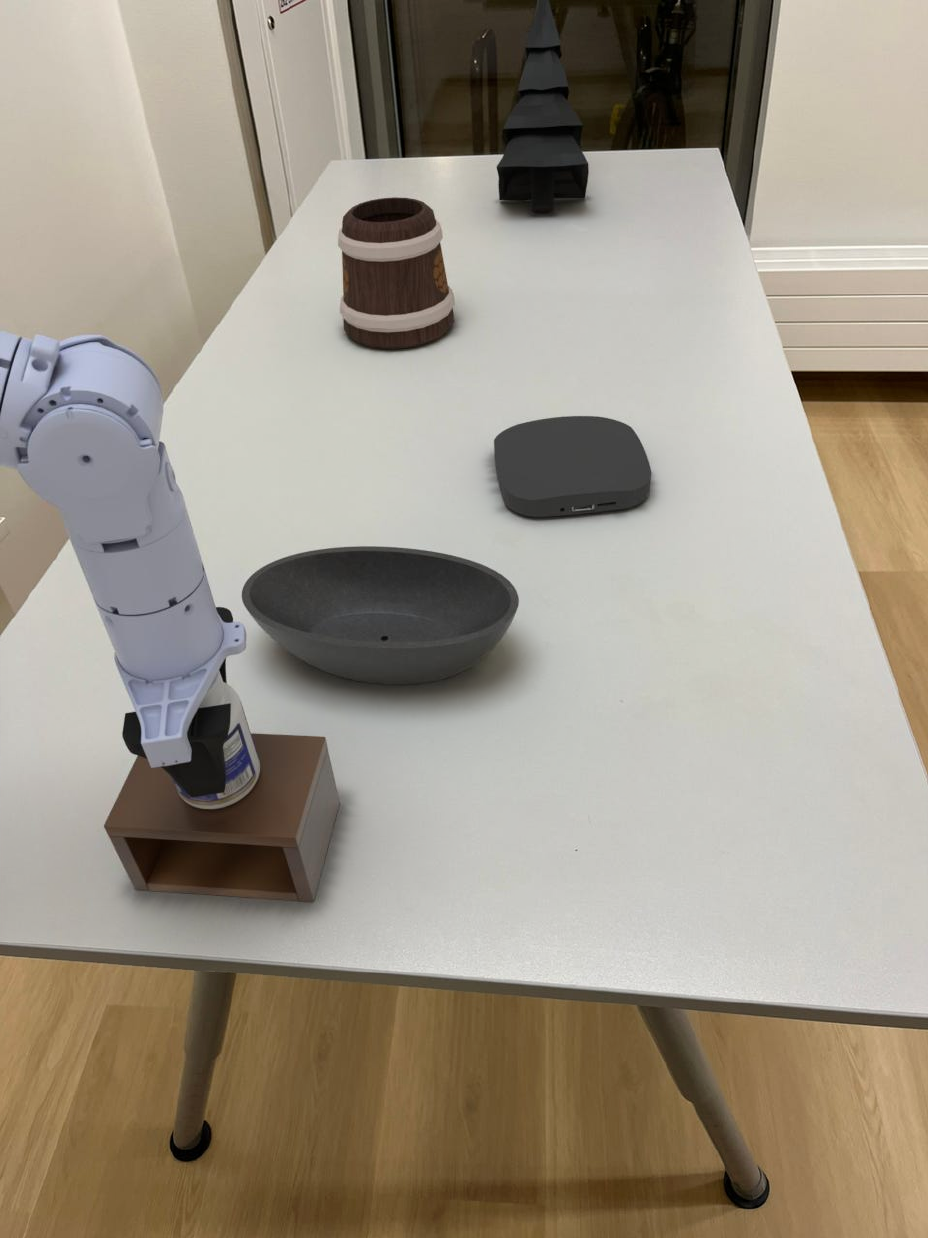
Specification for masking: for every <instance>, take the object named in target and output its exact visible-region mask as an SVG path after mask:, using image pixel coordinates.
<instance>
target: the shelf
mask: <svg viewBox="0 0 928 1238" xmlns="http://www.w3.org/2000/svg"><path fill="white" fill-rule="evenodd" d="M251 736H252V739H253V742H254V745H255V748H256V751H257V755H258V758H259V762H260V774H259V777H258V780H257V782H256V784H255V785H254V787H253V788H252V790H251V791H250V792H249V793H248V794H247V795H246V796H245V797H243V798H242V799H240V800H239V801H237V802H235V803H233V804H231V805H229V806H226V807H223V808H218V809H201V808H197V807H194V806H192V805H190V804H188V803H187V802H185V801H184V800H183V799H182V798H181V796H180V795H179V793H178V791H177V789H176V787H175V784H174V782H173V779H172V777H171V776H170V775H169V774H168V773H167V772H166V771H165V770H164V769H163V768H162V767H154V768H151V766H150V764H149V761H148V759H146V758H143V757H141V756H138V755H136V758H135V760H134V762H133V764H132V767H131V768H130V770H129V772H128V775H127V777H126V779H125V781H124V783H123V785H122V786H121V789H120V791H119V793H118V796H117V797H116V800H115V801H114V803H113V806H112V808H111V810H110V812H109V813H108V816H107V818H106V820H105V822H104V825H103V828H104V831H105V832H106V834H107V836H108V838H109V840H110V842H111V844H112V846H113V848H114V850H115V852H116V855H117V856H118V858H119V860H120V862H121V864H122V866H123V868H124V870H125V872H126V874H127V876H128V878H129V881H130V882H131V884H132V886H133V889H134V890H136V891H147V892H149V891H151V892H166V893H181V894H195V895H208V896H209V895H210V896H222V897H223V896H225V897H238V898H253V899H265V900H266V899H267V900H282V901H283V900H284V901H294V902H295V901H296V902H298V901H299V902H308V903H309V902H311V903H314V901H315V899H316V895H317V891H318V888H319V883H320V879H321V877H322V872H323V869H324V868H323V867H324V865H325V860H326V856H327V853H328V850H329V849H328V848H329V845H330V841H331V838H332V834H333V830H334V826H335V823H336V819H337V815H338V811H339V807H340V803H341V801H340V797H339V792H338V788H337V784H336V779H335V774H334V769H333V766H332V762H331V757H330V752H329V748H328V742H327V739H326V736H318V735H317V736H316V735H298V734H297V735H293V734H276V733H275V734H273V733H254V732H253V733H252V732H251Z"/></svg>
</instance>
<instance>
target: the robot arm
mask: <svg viewBox="0 0 928 1238" xmlns="http://www.w3.org/2000/svg"><path fill="white" fill-rule="evenodd" d="M163 416H164V400H163V390H162V387H161V384H160V381H159V378H158V377H157V375H156V373H155V371H154V370H153V369H152V367H151V366H150V364H148V362H146V360H145V359H144V358H142V357H141V356H140V355H139V354H138V353H137V352H135V351H133V350H132V349H130V348H128V347H126V346H124V345H121V344H119V343H116V342H114V341H113V340H112V339H110V338H109V337H107V336H105V335H102V334H79V335H75V336H71V337H68V338H65V339H63V340H61V341H59V340H58V339H56V338H53V337H48V336H45V335H43V334H39V333H37V334H35V335H34V337H33V339H31V338H29V337H28V338H27V337H25V336H24V337H22V336H21V335H19V334H14V333H11V332H8V331H4V330H2V329H0V466H2V467H4V468H10V469H14V470H17V472H18V474H19V476H20V477H21V479H22V480H23V482H24V483H25V484H26V485H27V487H29V489H31V490H32V491H33V492H34V493H35V494H36V495H37V496H39V497H40V498H41V499H42V500H44V501H45V502H47V503H49V504H50V505H52V506H54V507H56V508H57V509H58V511H59V512H60V515H61V518H62V520H63V525H64V528H65V531H66V534H67V536H68V538H69V541H70V543H71V546H72V549H73V551H74V553H75V556H76V558H77V561H78V564H79V566H80V568H81V571H82V573H83V575H84V578H85V581H86V583H87V585H88V588H89V590H90V593H91V596H92V598H93V601H94V603H95V607H96V608H97V611H98V613H99V615H100V618H101V621H102V623H103V626H104V629H105V631H106V633H107V635H108V638H109V640H110V643H111V646H112V648H113V650H114V656H113V657H114V663H115V666H116V668H117V671H118V674H119V676H120V678H121V680H122V683H123V685H124V687H125V691H126V693H127V694H128V697H129V700H130V703H131V704H132V706H133V709H134V711H130V712H125V713H124V718H123V726H122V731H121V735H122V739H123V742H124V744H125V747H126V748H127V750H128V751H129V753H130V754H132V755H135V756H141V757H143V758H146V759H148V761H149V764H150V766H151V768H154V767H162V768H163V769H164V770H165V771H166V772H167V773H168V774H169V775H170V776H171V777H172V778H173V779H174V780H175V781H176V782H177V783H178V784H179V785H180V787H181V788H182V789H183V790H184V791H185V792H186V793H187V794H188V795H189V796H190V797H192V798H194V797H200V796H206V795H212V794H218V793H223V792H224V791H225V785H226V767H225V758H224V750H223V745H224V743H225V741H226V739H227V736H228V732H229V728H230V721H231V703H229V704H223V705H216V706H210V707H204V708H199V706H200V704H201V702H202V700H203V698H204V697H205V695H206V693H207V691H208V689H209V687H210V685H211V684H212V682H213V680H214V678H215V676H216V674H217V672H218V671H220V674H221V677H222V680H223V682H225V683H227V684H228V680H227V668H226V667H227V663H226V662H227V658H228V657H229V656H235V655H239V654H242V653H243V652H244V651H246V648H247V631H246V627H245V625H244V623H242V622H241V621H234V617H233V613H232V611H231V610H230V609H228V608H227V607H224V606H216V602H215V600H214V596H213V594H212V590H211V586H210V584H209V580H208V576H207V573H206V569H205V565H204V562H203V559H202V556H201V552H200V549H199V545H198V542H197V538H196V535H195V532H194V529H193V525H192V522H191V518H190V515H189V512H188V507H187V505H186V501H185V498H184V495H183V492H182V491H181V488H180V487H179V485H178V484H177V480H176V474H175V473H176V472H175V471H174V468H173V465H172V463H171V462H170V461H171V460H170V458H169V454H168V451H167V448H166V445H165V443H164V442H163V441H161V439H160V438H161V432H162V424H163Z"/></svg>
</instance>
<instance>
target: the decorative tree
mask: <svg viewBox="0 0 928 1238" xmlns="http://www.w3.org/2000/svg"><path fill="white" fill-rule="evenodd" d="M561 45H562V44H561V40H560V37H559V32H558V27H557V25H556V22H555V18H554V15H553V11H552V6H551V3H550V0H537V1H536V6H535V11H534V15H533V20H532V23H531V24H530V27H529V29H528V32H527V36H526V40H525V45H524V49H525V57H524V58H525V59H524V68H523V71H522V74H521V78H520V81H519V83H518V88H517V92H516V100H515V101H516V104H515V105H514V108H513V109H512V111H511V112H510V113H509V115H508V117H507V119H506V122H505V123H504V126H503V128H502V134H501V139H502V142H503V143H504V145H505V146H504V150H503V155H502V157H501V159H500V161H499V162H498V164H496V171H497V176H498V181H497V182H498V184H497V185H498V186H497V187H498V200H499V201H514V202H525V201H531V203H530V211H531V212H532V213H535V214H548V213H552V212H553V211H554V208H555V206H554V205H555V203H554V201H555V199H557V200H558V199H586V194H587V187H588V184H589V183H588V181H589V175H590V174H589V173H590V172H589V161H588V160H587V158H586V156H585V154H584V153H583V150H582V146H581V145H582V143H581V142H582V141H581V140H582V132H583V129H584V124H583V122H582V120H581V118H580V117H579V116H578V114H577V113H576V112H575V110H574V109H573V107H572V106H571V104H570V102H569V101H568V98H569V94H570V89H569V84H568V83H569V82H568V78H567V73H566V72H565V68H564V67H563V64H562V62H561V58H562V56H563V53H562V49H561Z"/></svg>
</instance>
